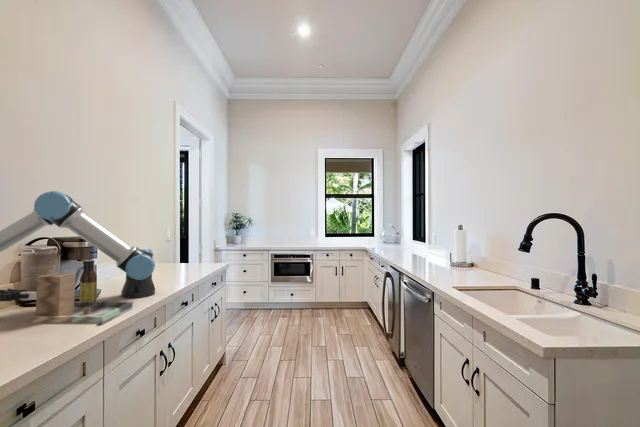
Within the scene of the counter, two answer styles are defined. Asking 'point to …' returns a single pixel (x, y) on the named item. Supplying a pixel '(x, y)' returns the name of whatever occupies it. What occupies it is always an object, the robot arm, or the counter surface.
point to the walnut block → (55, 294)
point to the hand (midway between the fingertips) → (39, 295)
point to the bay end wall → (110, 314)
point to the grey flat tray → (86, 313)
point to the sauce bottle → (88, 282)
